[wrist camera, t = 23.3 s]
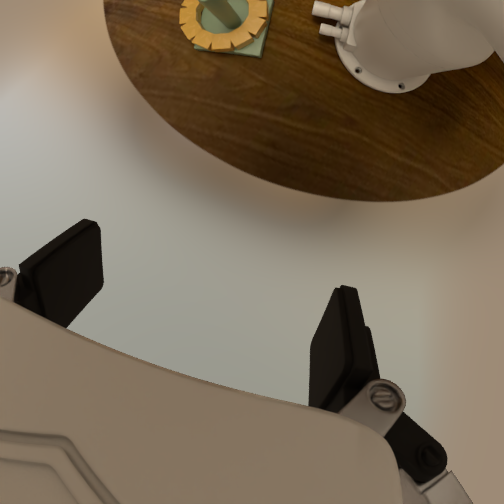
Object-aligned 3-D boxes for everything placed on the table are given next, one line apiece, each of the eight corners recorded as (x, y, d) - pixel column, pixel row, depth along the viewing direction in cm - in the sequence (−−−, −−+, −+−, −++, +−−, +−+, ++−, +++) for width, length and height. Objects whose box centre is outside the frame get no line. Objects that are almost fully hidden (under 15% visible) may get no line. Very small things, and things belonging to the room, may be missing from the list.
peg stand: (197, 50, 31) (152, 30, 20) (210, -4, 27) (173, -41, 16) (261, 58, 30) (241, 35, 20) (274, 2, 27) (261, -41, 16)
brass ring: (171, 34, 29) (164, 31, 27) (212, -27, 24) (207, -33, 22) (240, 65, 30) (237, 63, 28) (284, 0, 25) (283, -5, 24)
